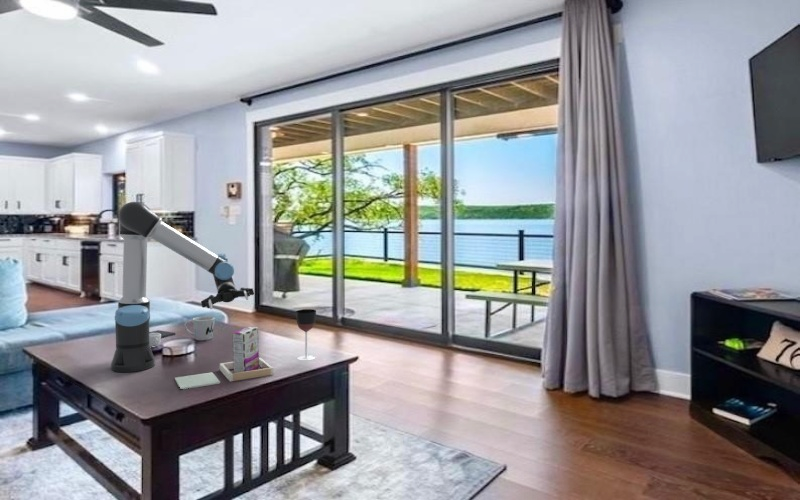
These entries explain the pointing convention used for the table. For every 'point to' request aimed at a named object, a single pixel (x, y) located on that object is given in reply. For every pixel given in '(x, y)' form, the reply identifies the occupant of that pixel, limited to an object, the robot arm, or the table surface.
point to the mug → (202, 327)
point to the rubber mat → (197, 380)
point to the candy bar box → (245, 350)
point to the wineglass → (306, 326)
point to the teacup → (154, 339)
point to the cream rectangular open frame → (247, 374)
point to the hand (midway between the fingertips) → (228, 301)
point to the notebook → (163, 333)
